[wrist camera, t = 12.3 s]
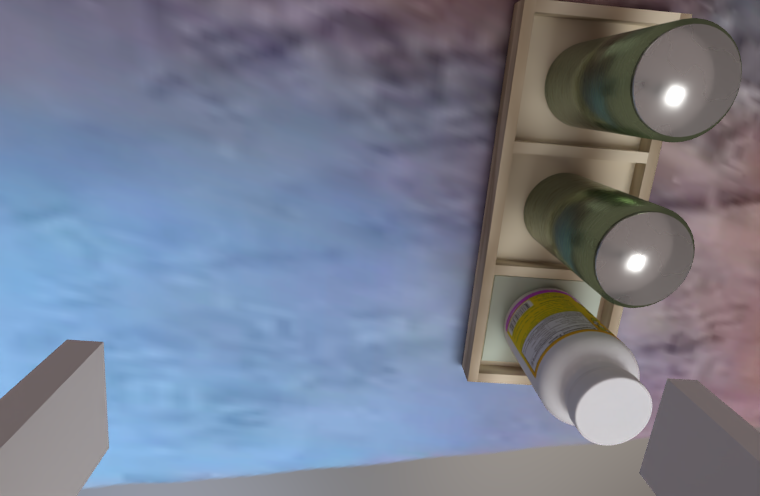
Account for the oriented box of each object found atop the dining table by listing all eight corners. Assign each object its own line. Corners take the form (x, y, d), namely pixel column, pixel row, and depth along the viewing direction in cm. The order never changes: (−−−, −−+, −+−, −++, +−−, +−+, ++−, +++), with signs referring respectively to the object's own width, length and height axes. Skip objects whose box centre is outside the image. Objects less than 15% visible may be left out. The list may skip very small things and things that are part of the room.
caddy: (461, 366, 45) (467, 381, 43) (514, 3, 37) (525, -3, 35) (591, 373, 46) (604, 389, 44) (671, 19, 38) (692, 14, 35)
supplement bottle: (585, 348, 44) (672, 448, 32) (508, 365, 44) (565, 471, 32) (576, 276, 42) (666, 352, 30) (496, 293, 42) (551, 376, 30)
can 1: (538, 124, 39) (616, 138, 27) (552, 37, 37) (643, 11, 25) (616, 130, 39) (728, 147, 27) (634, 45, 37) (762, 22, 25)
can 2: (517, 245, 41) (581, 307, 29) (530, 169, 40) (603, 202, 28) (591, 250, 42) (683, 313, 30) (607, 176, 40) (711, 211, 28)
